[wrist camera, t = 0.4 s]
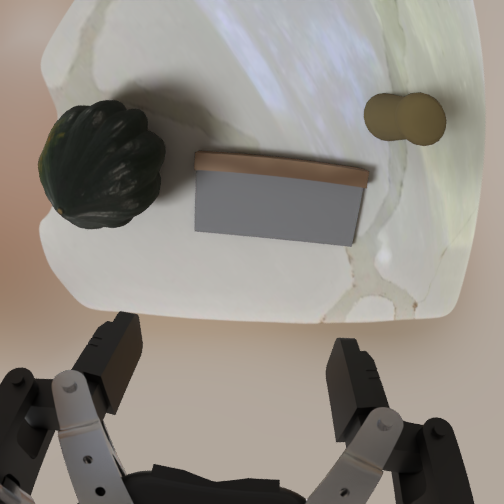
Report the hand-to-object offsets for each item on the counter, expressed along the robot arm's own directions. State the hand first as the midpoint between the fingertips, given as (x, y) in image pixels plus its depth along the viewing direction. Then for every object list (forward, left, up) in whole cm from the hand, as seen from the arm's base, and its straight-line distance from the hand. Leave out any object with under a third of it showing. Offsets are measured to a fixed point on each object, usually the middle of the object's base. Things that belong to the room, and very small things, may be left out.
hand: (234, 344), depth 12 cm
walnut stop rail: (-3, +3, -27) cm, 28 cm away
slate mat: (+2, +3, -27) cm, 27 cm away
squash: (-3, -17, -28) cm, 33 cm away
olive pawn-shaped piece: (-11, +15, -28) cm, 33 cm away
